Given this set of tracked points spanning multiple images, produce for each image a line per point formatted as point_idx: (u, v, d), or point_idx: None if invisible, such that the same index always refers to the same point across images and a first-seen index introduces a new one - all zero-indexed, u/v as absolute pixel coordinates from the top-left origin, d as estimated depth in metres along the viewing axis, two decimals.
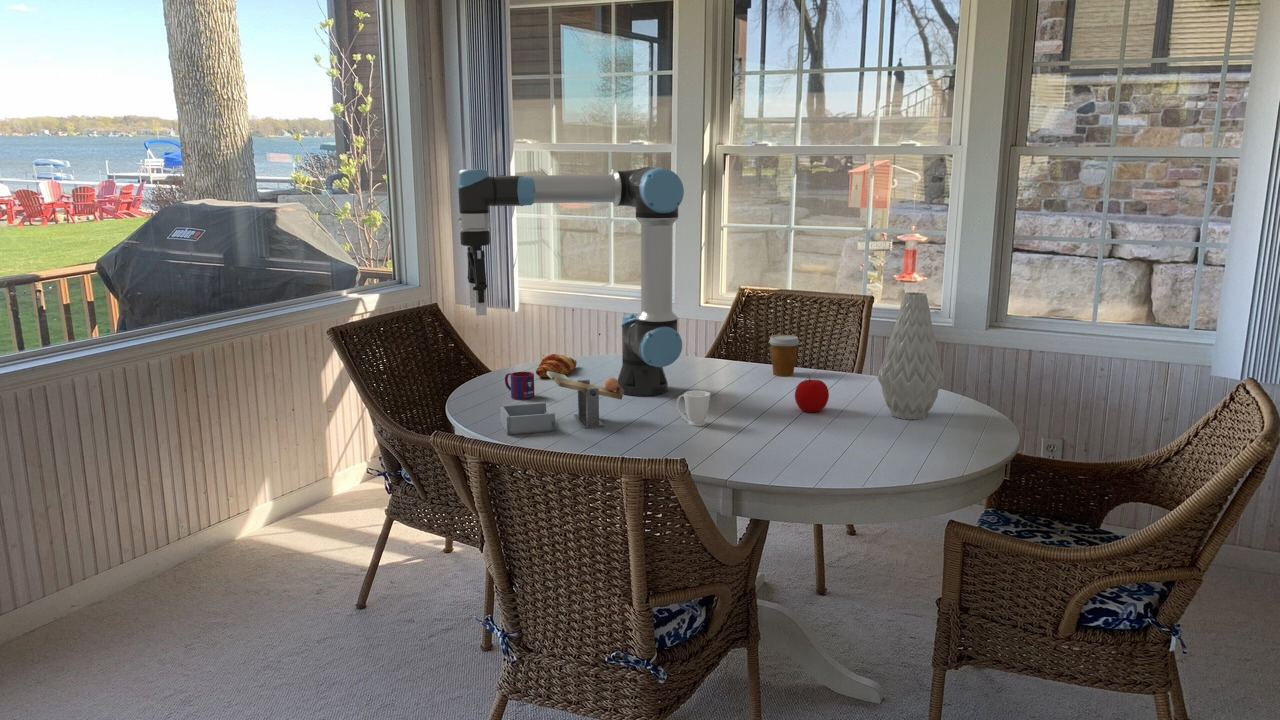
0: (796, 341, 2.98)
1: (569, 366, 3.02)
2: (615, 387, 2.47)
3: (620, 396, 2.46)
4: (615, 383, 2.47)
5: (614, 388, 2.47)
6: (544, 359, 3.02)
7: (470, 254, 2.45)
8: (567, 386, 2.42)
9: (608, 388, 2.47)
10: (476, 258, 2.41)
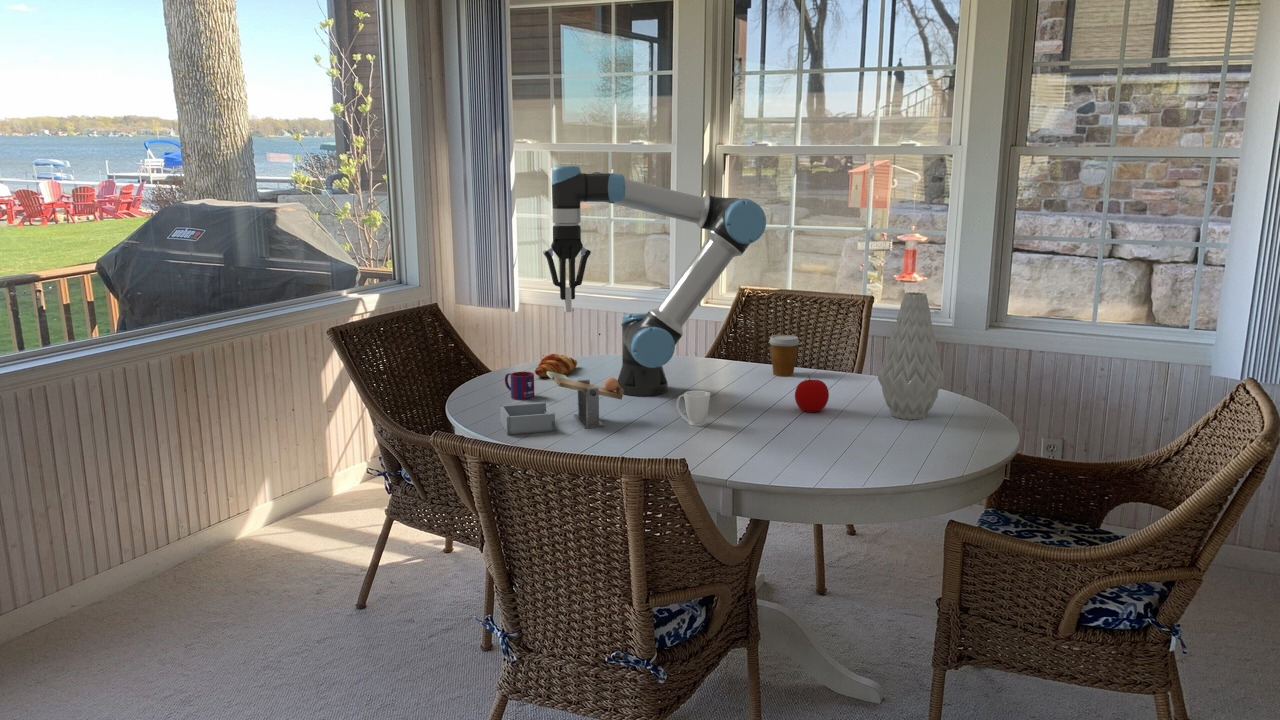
0: (796, 341, 2.98)
1: (568, 366, 3.02)
2: (615, 387, 2.47)
3: (620, 396, 2.46)
4: (615, 383, 2.47)
5: (614, 388, 2.47)
6: (544, 359, 3.03)
7: None
8: (567, 386, 2.42)
9: (608, 388, 2.47)
10: None
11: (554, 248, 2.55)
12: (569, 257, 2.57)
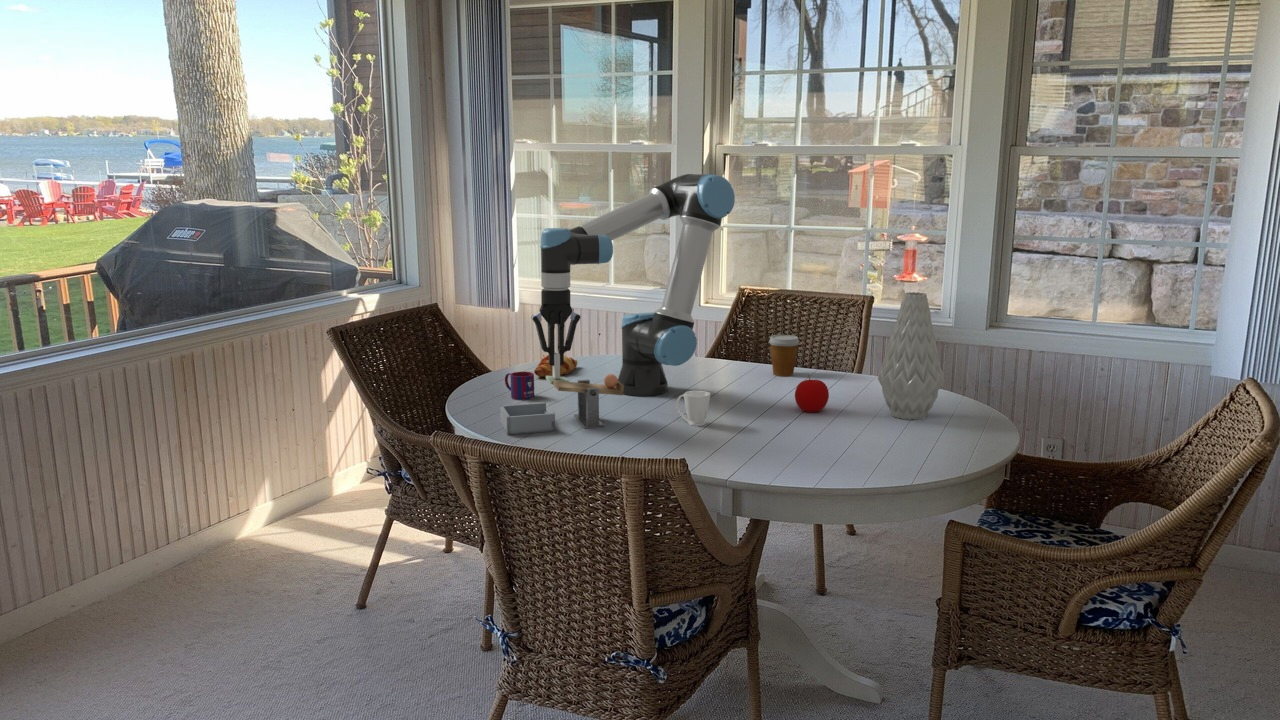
0: (796, 341, 2.98)
1: (568, 366, 3.02)
2: (615, 383, 2.47)
3: (621, 392, 2.46)
4: (614, 379, 2.47)
5: (614, 384, 2.47)
6: (543, 359, 3.03)
7: None
8: (566, 389, 2.42)
9: (608, 385, 2.47)
10: None
11: (543, 313, 2.46)
12: (558, 322, 2.48)
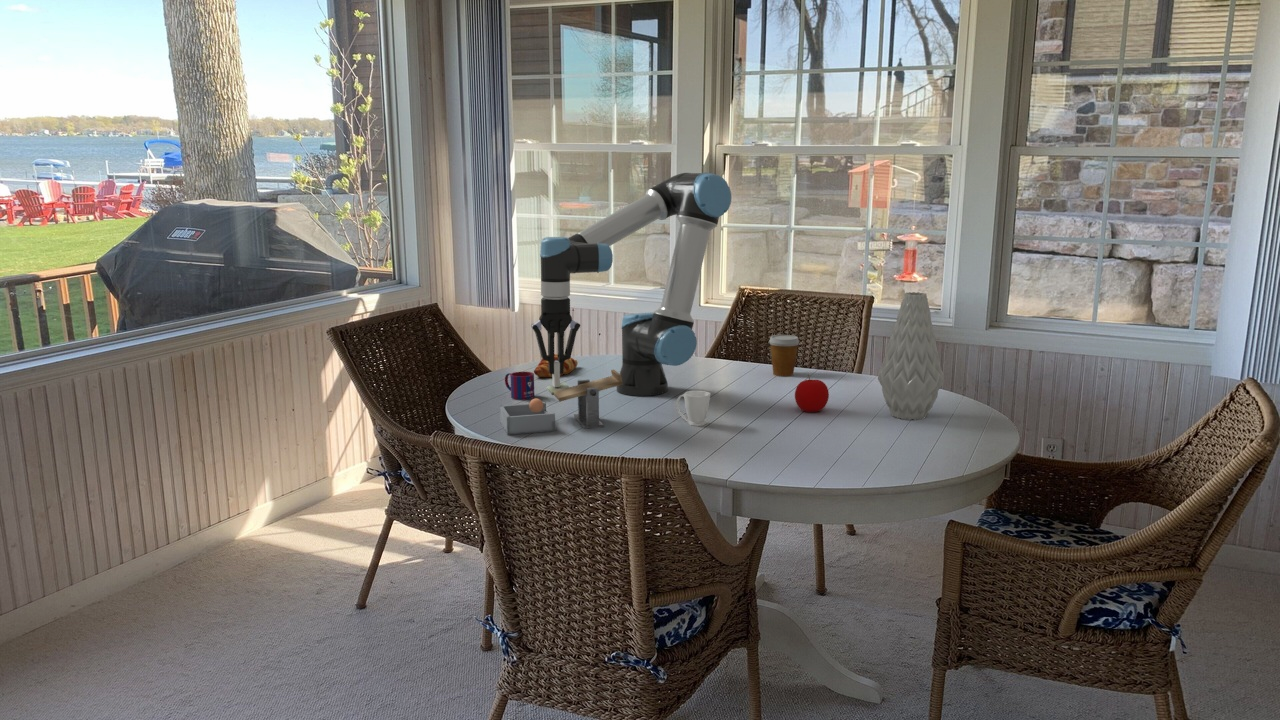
0: (796, 341, 2.98)
1: (568, 366, 3.02)
2: (536, 410, 2.42)
3: (620, 382, 2.45)
4: (540, 408, 2.43)
5: (534, 409, 2.42)
6: None
7: None
8: (567, 398, 2.42)
9: (532, 403, 2.42)
10: (534, 331, 2.48)
11: (542, 322, 2.47)
12: (558, 331, 2.48)
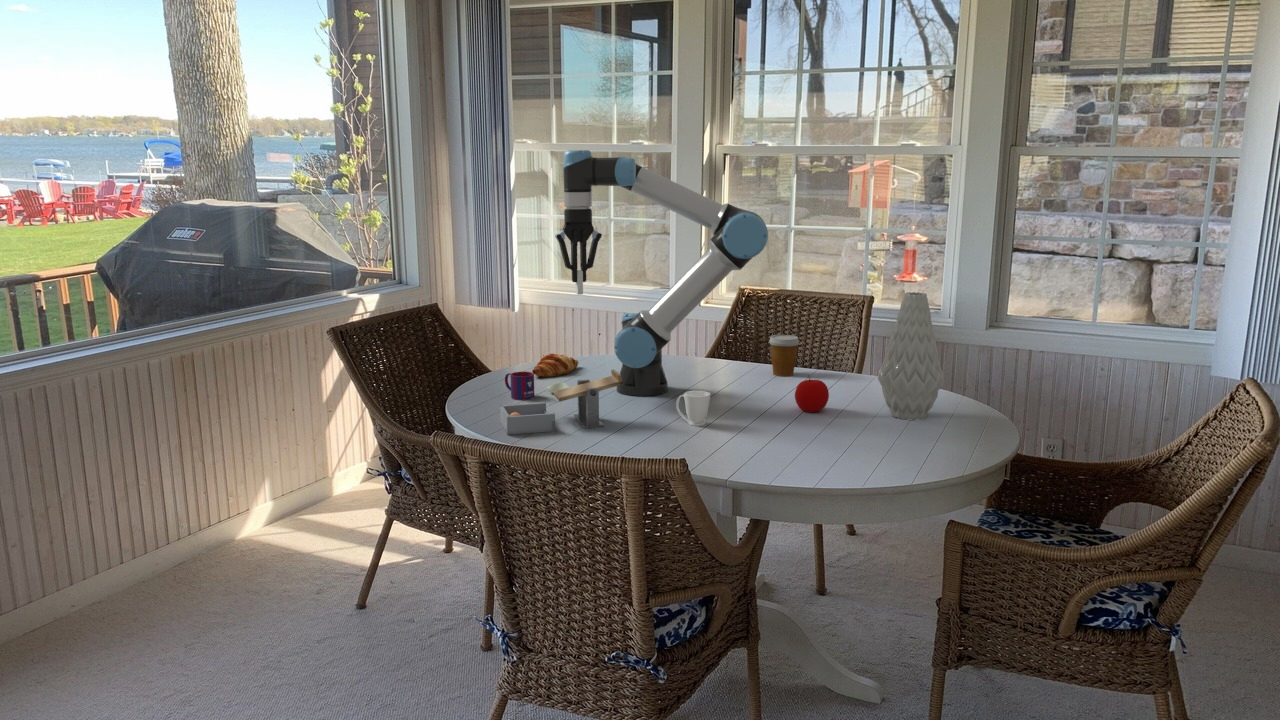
0: (796, 341, 2.98)
1: (567, 366, 3.02)
2: None
3: (620, 382, 2.45)
4: None
5: None
6: (543, 358, 3.04)
7: None
8: (567, 398, 2.42)
9: None
10: (558, 241, 2.61)
11: (566, 231, 2.60)
12: (580, 240, 2.61)
